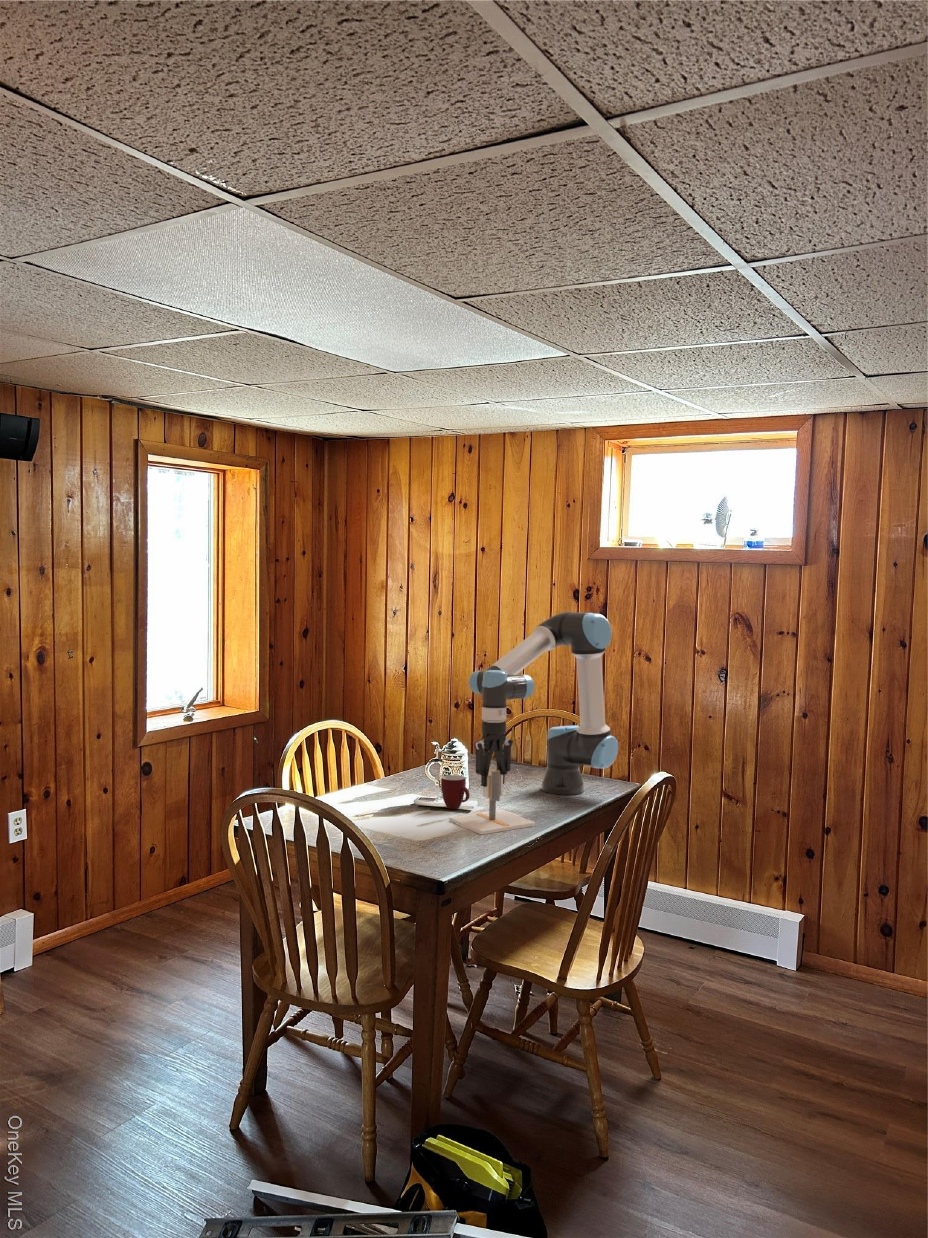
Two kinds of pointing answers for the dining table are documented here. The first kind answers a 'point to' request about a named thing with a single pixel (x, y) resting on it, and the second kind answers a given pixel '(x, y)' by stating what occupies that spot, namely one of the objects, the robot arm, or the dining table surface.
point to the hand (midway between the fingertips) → (492, 795)
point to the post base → (492, 820)
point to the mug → (454, 790)
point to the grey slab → (494, 783)
